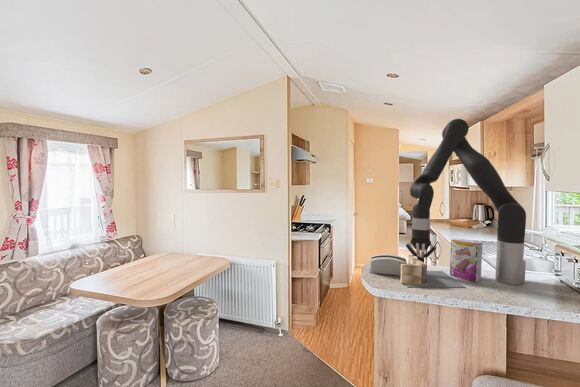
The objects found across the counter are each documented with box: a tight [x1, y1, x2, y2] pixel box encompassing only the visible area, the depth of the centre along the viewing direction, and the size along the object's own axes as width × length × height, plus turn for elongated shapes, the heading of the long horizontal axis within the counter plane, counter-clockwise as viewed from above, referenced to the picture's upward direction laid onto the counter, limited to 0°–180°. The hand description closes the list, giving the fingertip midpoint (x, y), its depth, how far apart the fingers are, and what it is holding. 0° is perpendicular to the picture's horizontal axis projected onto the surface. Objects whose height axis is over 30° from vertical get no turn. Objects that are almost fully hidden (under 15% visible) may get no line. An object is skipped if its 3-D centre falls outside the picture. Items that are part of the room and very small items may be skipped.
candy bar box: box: [449, 237, 483, 283], centre depth 134 cm, size 11×5×16 cm, turn 34°
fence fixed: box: [400, 263, 428, 284], centre depth 127 cm, size 10×2×8 cm, turn 88°
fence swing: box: [407, 254, 426, 265], centre depth 134 cm, size 13×2×8 cm, turn 0°
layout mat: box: [396, 270, 467, 289], centre depth 133 cm, size 23×20×1 cm
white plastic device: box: [369, 253, 408, 276], centre depth 139 cm, size 17×5×10 cm, turn 69°
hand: (420, 265), depth 138 cm, fingers closed
